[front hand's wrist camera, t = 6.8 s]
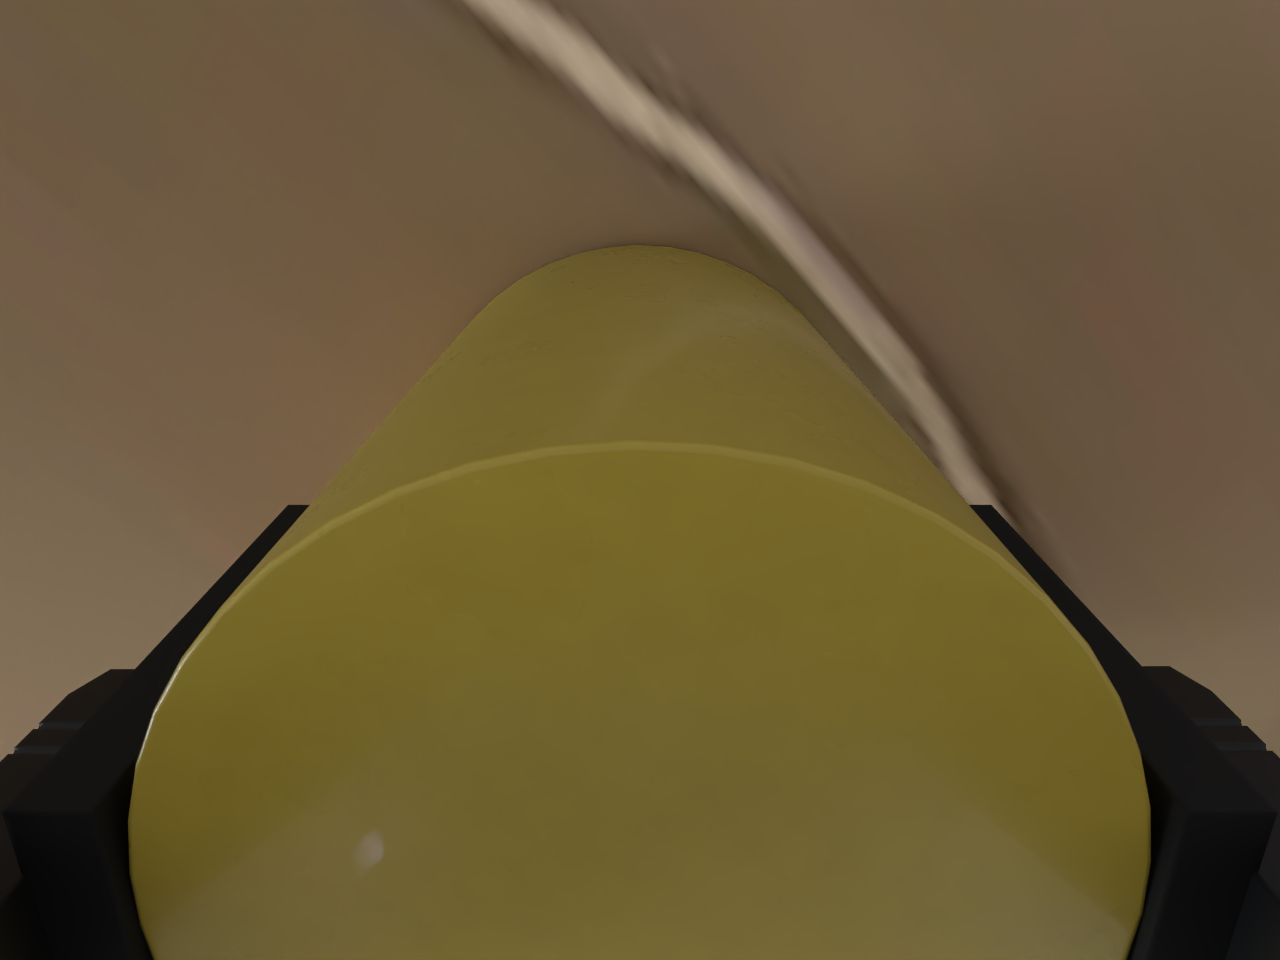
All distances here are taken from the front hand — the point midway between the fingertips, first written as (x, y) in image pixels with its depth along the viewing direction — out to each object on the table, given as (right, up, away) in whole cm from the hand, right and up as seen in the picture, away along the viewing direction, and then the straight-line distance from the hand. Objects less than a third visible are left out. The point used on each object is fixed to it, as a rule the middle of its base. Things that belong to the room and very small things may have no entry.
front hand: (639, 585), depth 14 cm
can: (0, +2, +5) cm, 5 cm away
